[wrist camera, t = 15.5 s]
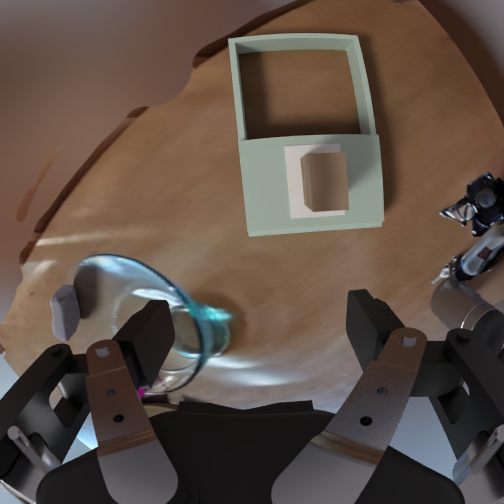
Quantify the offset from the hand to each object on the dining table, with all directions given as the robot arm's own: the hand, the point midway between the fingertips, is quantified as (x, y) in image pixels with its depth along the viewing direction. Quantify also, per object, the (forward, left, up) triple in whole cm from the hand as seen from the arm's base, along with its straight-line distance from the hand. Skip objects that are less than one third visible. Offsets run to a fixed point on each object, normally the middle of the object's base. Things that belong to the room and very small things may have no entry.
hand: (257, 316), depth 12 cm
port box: (-8, -14, -38) cm, 41 cm away
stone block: (+46, +16, -38) cm, 62 cm away
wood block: (-8, -5, -31) cm, 33 cm away
